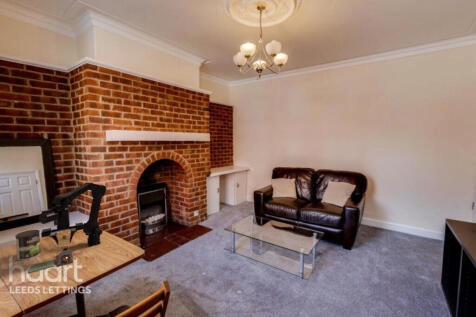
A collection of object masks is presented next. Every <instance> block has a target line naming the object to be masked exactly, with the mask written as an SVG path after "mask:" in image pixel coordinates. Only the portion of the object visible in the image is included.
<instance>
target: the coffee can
mask: <svg viewBox="0 0 476 317" xmlns="http://www.w3.org/2000/svg"><path fill="white" fill-rule="evenodd" d="M14 236H15V242H16V244H15V247H16V258H17V261H21V262H22V261H28V260H32V259H34V258H37V257H39V256H40V255H41V253H42V251H41V250H42V249H41V238H40V236H41V233H40V230H39V229H29V230H25V231H22V232H18V233H17V234H16V235H14Z"/></svg>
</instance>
